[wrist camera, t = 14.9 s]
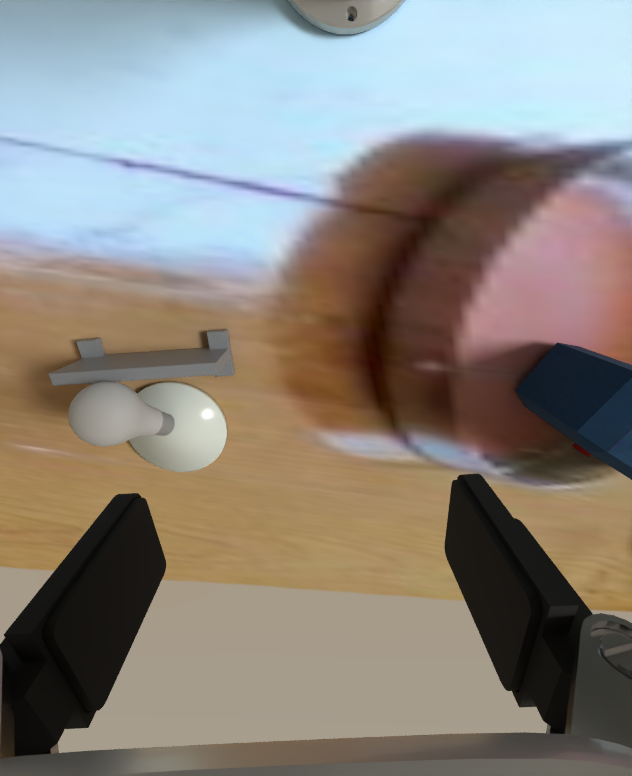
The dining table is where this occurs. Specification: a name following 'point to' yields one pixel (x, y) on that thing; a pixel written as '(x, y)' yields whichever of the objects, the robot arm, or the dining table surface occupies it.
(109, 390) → the lightbulb
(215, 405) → the white round dome
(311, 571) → the dining table surface
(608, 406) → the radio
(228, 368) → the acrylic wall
